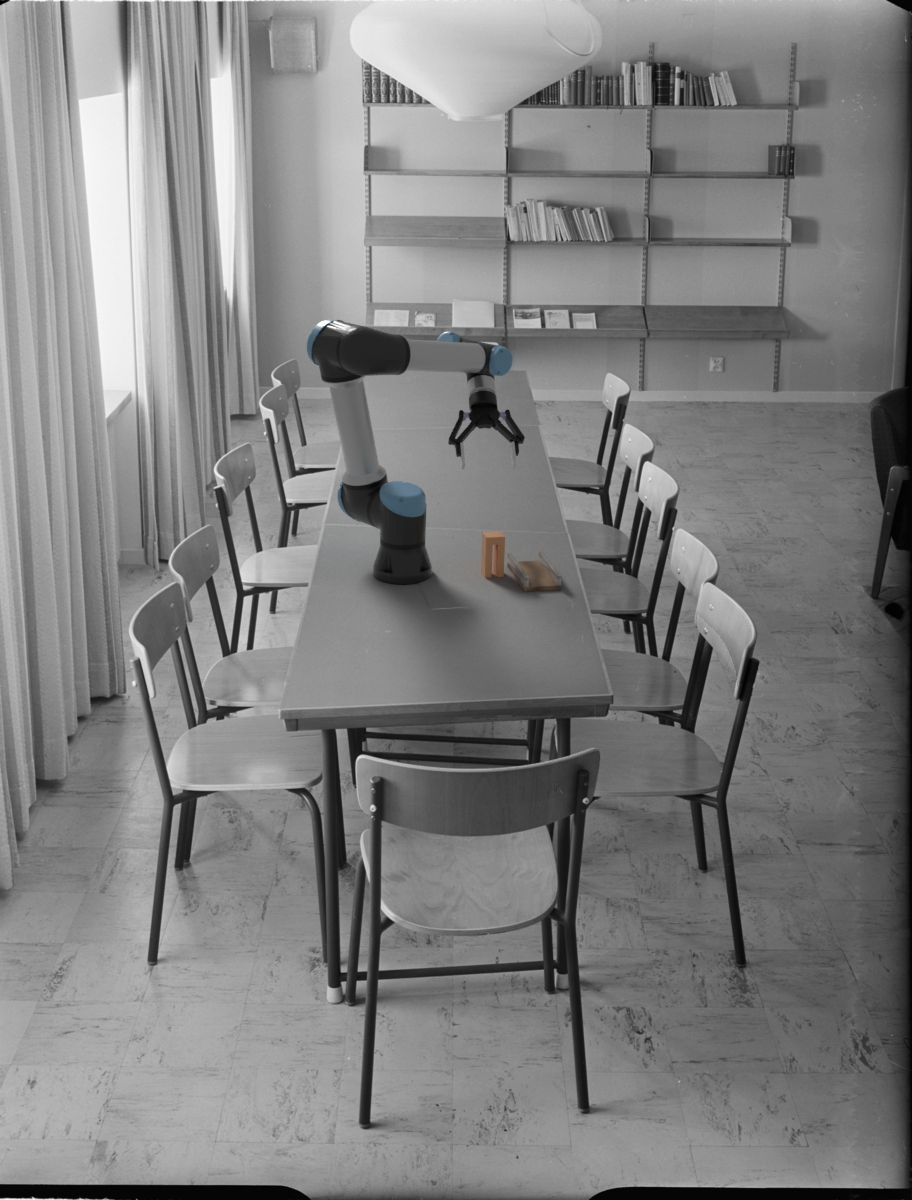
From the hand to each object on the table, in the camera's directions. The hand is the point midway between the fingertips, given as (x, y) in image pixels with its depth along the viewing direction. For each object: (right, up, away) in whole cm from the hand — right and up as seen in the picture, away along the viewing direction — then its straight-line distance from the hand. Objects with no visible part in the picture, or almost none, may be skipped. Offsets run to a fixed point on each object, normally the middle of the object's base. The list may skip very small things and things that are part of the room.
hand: (488, 466), depth 313 cm
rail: (+11, -29, -5) cm, 32 cm away
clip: (+1, -28, -3) cm, 29 cm away
